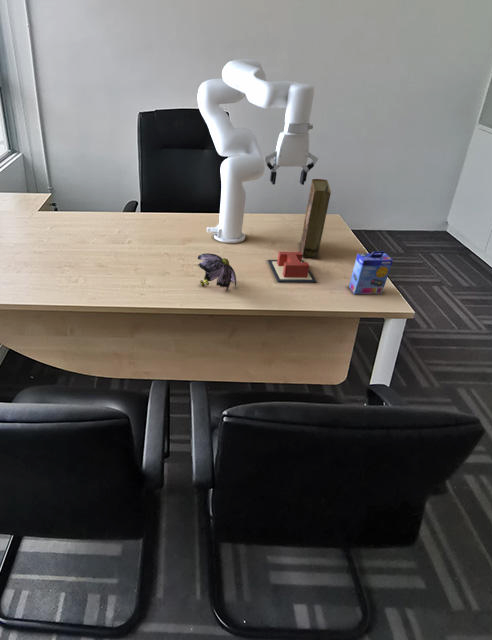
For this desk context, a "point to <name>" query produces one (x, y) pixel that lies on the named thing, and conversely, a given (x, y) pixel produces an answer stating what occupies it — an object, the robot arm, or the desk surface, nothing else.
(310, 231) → the book
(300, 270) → the letter I
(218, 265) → the decorative flower
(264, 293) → the desk surface
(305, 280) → the desk mat
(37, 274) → the desk surface
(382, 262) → the ink cartridge box
